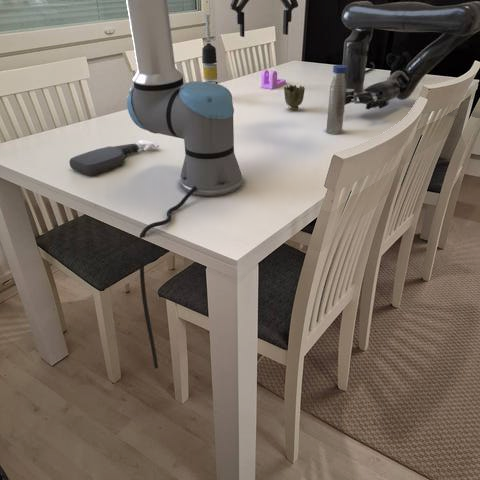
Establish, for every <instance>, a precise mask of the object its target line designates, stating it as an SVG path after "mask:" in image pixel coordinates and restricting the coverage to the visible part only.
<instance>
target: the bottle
mask: <svg viewBox="0 0 480 480" xmlns="http://www.w3.org/2000/svg"><path fill="white" fill-rule="evenodd" d="M344 76H345V73H343V74H338V73H334V76H333V78H332V81H331V84H330V88H329V96H328V97H329V98H328V107H327V118H326V133H327V134H330V135H339V134H342V133H343V125H344V117H345V108H346V107H345V106H346V105H345V98H346V80H345V77H344Z"/></svg>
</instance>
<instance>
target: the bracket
mask: <svg viewBox="0 0 480 480" xmlns="http://www.w3.org/2000/svg"><path fill="white" fill-rule="evenodd" d="M260 76H261V79H260V80H261V83H260V84H261V85H260V87H261V88H264V89H270V90H274V89H276V88H279V87H281V86H284V85H286V84H287V79H284V78H278V72H277V71H276V70H271V71H269V70H268V69H263V70H262V71H261V75H260Z"/></svg>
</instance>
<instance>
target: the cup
mask: <svg viewBox="0 0 480 480" xmlns="http://www.w3.org/2000/svg"><path fill="white" fill-rule="evenodd" d="M283 90H284V91H283V92H284V101H285V103H286V105H287V106H288V110H289V111H292V112H295V111H298V110H299V106H300V105H302V103H303V101H304V97H305V91H306V87H305V85H304V86H302V85H299V86H297V85H292V84H290V85H289V86H288V85H286V86H284V88H283Z"/></svg>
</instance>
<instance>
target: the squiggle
mask: <svg viewBox="0 0 480 480" xmlns="http://www.w3.org/2000/svg"><path fill="white" fill-rule="evenodd" d="M401 57H402V59H401ZM391 59H392V60H391ZM393 60H394V61H393ZM412 60H413V59H412V57H411V54H410V53H409V52H408V51H403V53H402V54H401V55H396V54H394V53H392V52H390V53H387V55H386V57H385V61H386V64H387V67H390V68H391V70H390V72H389V76H390V75H391V74H393V73H394V72H396V71H402V72H403V73H405V75H406V76H407V77H408V75H407V72H406V67H405V66H404V65H405V64H406V62H407V65H408V64H409V63H410V62H411V61H412ZM408 79H409V78H408Z"/></svg>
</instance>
